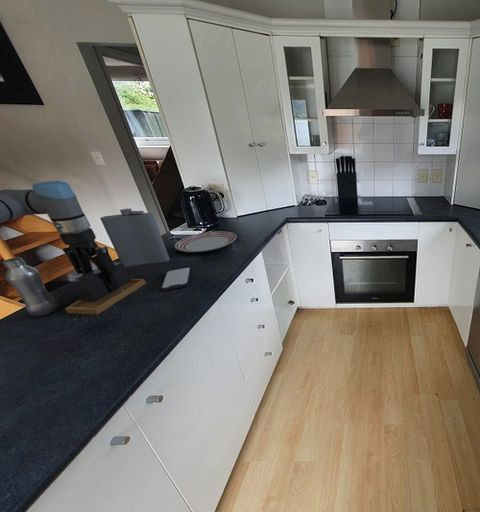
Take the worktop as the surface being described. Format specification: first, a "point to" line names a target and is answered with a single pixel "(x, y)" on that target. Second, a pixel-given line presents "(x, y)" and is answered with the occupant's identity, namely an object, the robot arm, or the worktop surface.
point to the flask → (135, 237)
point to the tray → (105, 299)
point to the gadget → (98, 283)
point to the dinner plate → (205, 241)
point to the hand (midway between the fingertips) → (106, 290)
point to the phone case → (176, 279)
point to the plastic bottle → (30, 287)
